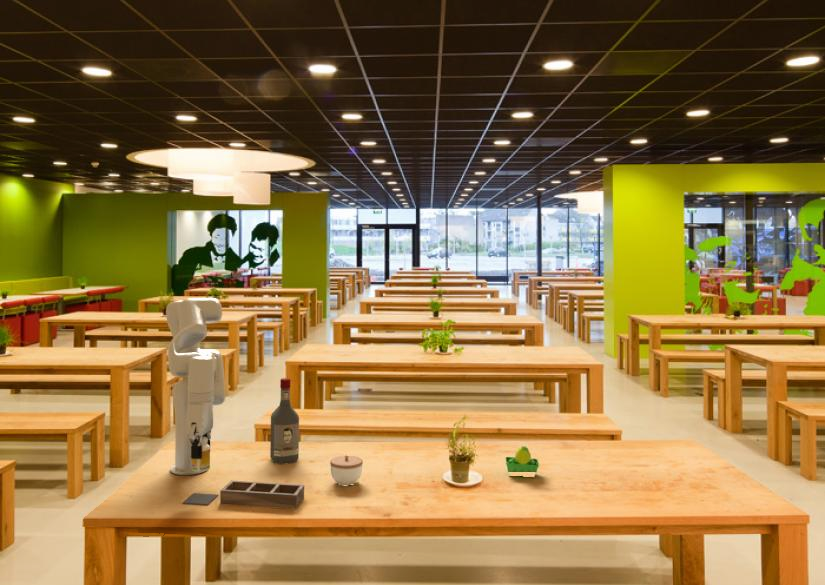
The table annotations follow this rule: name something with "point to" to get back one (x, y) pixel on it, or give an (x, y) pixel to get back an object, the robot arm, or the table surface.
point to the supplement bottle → (204, 462)
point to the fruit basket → (522, 461)
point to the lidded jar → (346, 469)
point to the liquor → (284, 429)
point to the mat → (200, 499)
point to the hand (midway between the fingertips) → (200, 454)
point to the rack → (262, 494)
